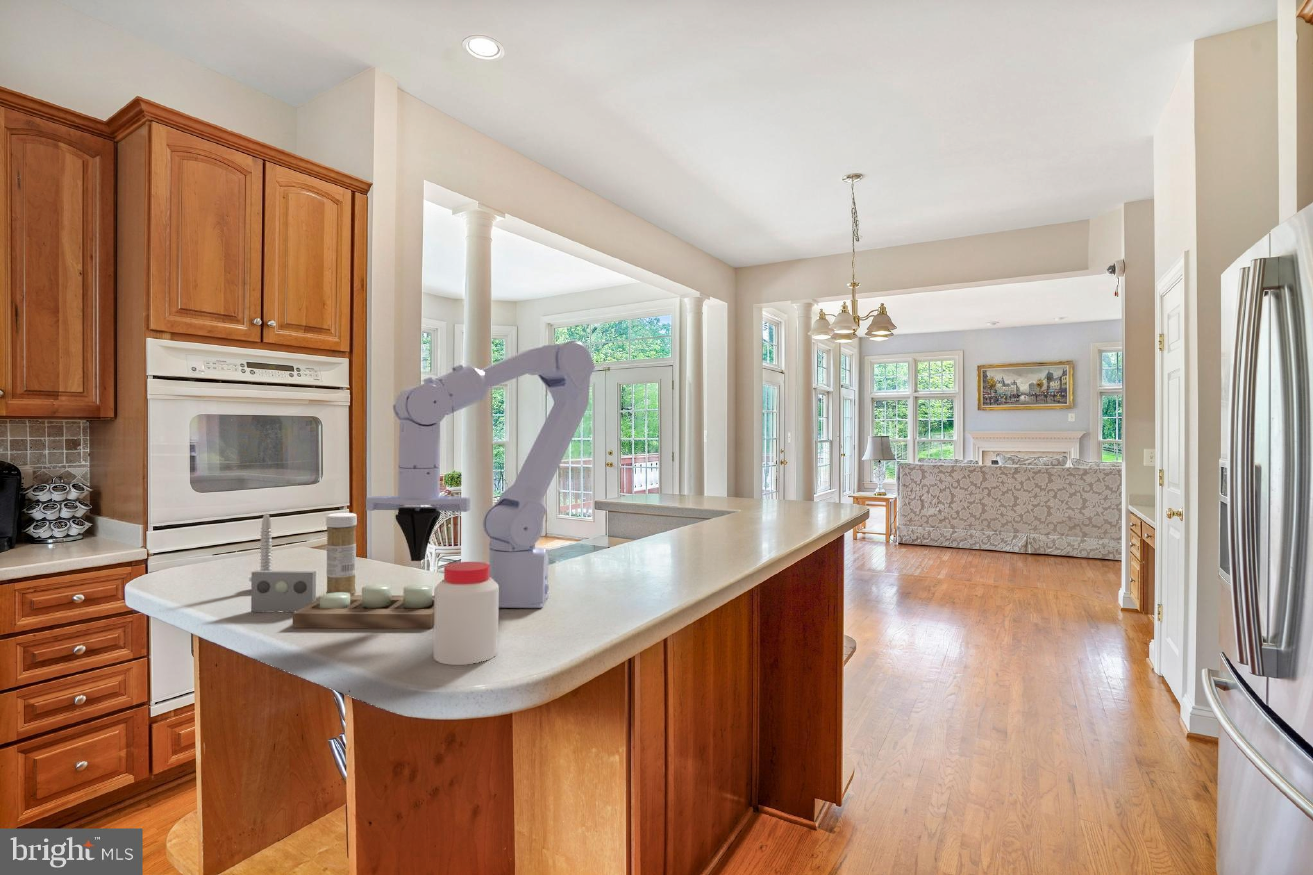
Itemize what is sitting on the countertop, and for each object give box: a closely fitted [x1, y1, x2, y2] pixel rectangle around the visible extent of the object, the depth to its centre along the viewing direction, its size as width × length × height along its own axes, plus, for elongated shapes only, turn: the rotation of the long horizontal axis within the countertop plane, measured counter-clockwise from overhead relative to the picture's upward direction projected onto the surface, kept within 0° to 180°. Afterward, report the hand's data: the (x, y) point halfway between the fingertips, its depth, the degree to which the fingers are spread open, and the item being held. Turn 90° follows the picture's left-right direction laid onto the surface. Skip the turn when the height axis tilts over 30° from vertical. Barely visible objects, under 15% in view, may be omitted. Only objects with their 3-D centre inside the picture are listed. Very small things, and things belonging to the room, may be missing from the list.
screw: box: [248, 513, 273, 583], centre depth 109 cm, size 13×5×5 cm
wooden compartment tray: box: [292, 594, 434, 630], centre depth 94 cm, size 19×10×2 cm, turn 92°
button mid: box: [361, 583, 392, 608], centre depth 94 cm, size 4×4×2 cm
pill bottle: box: [432, 561, 500, 666], centre depth 80 cm, size 8×8×11 cm
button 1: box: [319, 592, 350, 609], centre depth 94 cm, size 4×4×2 cm
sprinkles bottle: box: [325, 512, 358, 595], centre depth 107 cm, size 5×5×13 cm
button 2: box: [403, 583, 433, 608], centre depth 95 cm, size 4×4×2 cm
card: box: [250, 570, 317, 613], centre depth 97 cm, size 9×1×6 cm, turn 92°
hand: (418, 559), depth 94 cm, fingers closed
